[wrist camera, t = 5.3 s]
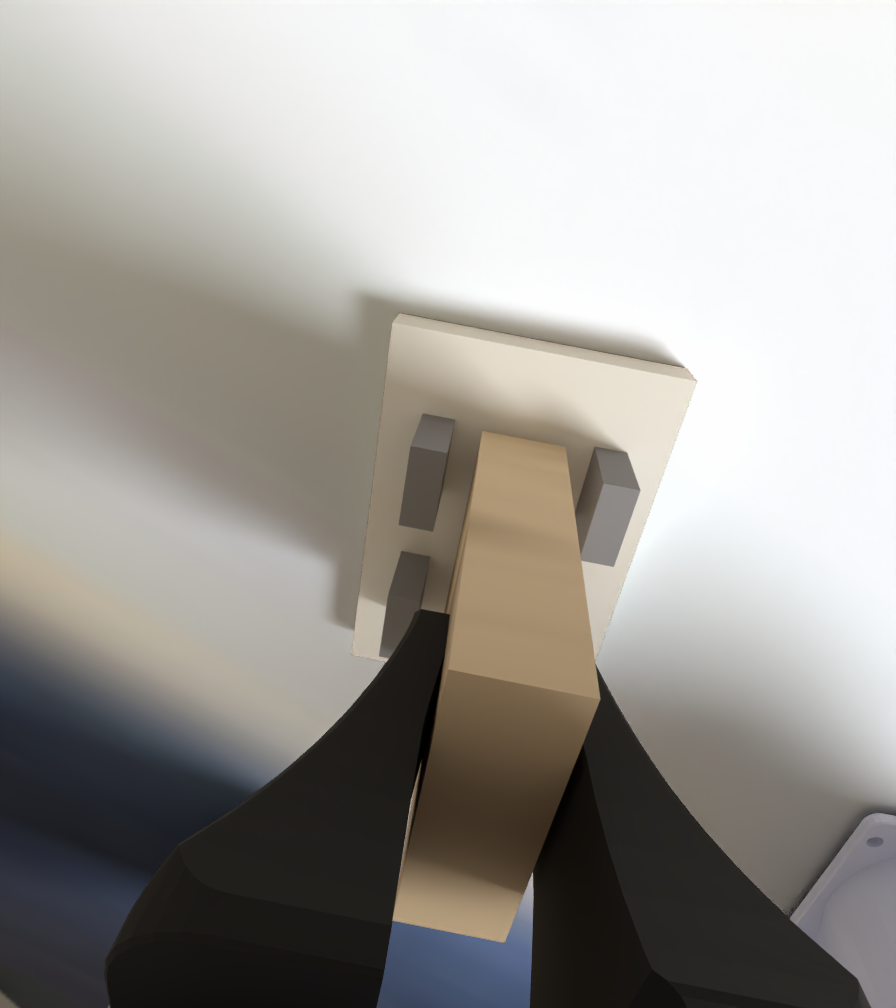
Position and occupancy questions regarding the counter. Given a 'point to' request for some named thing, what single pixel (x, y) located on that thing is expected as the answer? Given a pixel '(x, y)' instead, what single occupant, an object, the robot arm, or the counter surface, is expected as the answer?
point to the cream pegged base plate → (518, 413)
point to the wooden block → (501, 696)
